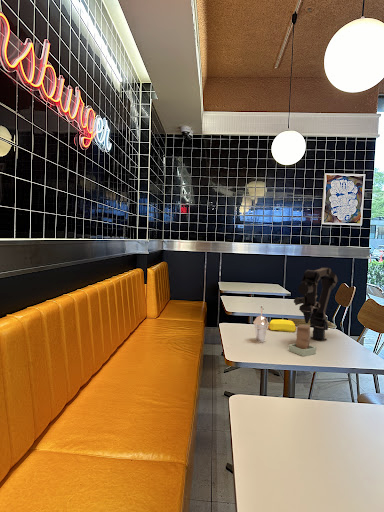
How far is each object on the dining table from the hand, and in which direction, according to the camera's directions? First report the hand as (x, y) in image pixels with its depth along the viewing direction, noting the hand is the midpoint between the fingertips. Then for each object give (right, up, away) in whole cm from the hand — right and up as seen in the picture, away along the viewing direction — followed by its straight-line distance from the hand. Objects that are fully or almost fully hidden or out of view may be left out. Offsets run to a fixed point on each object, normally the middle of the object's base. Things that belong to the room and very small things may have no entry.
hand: (309, 321), depth 186 cm
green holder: (-9, -12, -15) cm, 21 cm away
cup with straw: (-27, -11, +1) cm, 29 cm away
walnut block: (-9, -12, -15) cm, 21 cm away
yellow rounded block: (-8, -11, +27) cm, 30 cm away
